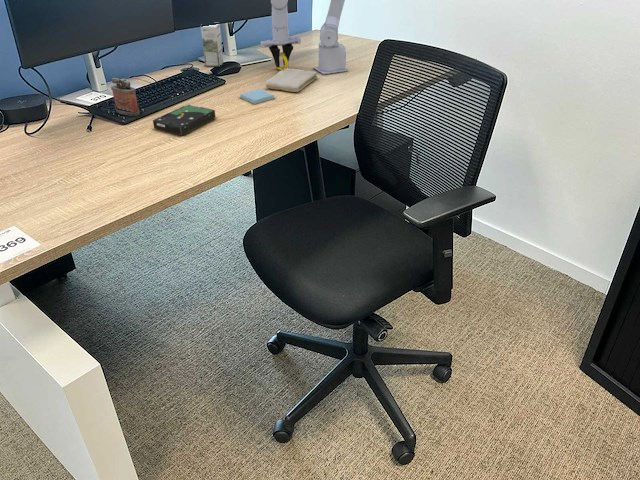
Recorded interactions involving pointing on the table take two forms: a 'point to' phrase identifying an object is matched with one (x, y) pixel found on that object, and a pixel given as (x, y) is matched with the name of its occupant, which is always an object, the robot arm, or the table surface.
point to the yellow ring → (284, 61)
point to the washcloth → (291, 80)
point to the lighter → (125, 97)
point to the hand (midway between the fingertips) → (281, 66)
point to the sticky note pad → (257, 96)
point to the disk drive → (184, 119)
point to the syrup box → (212, 45)
